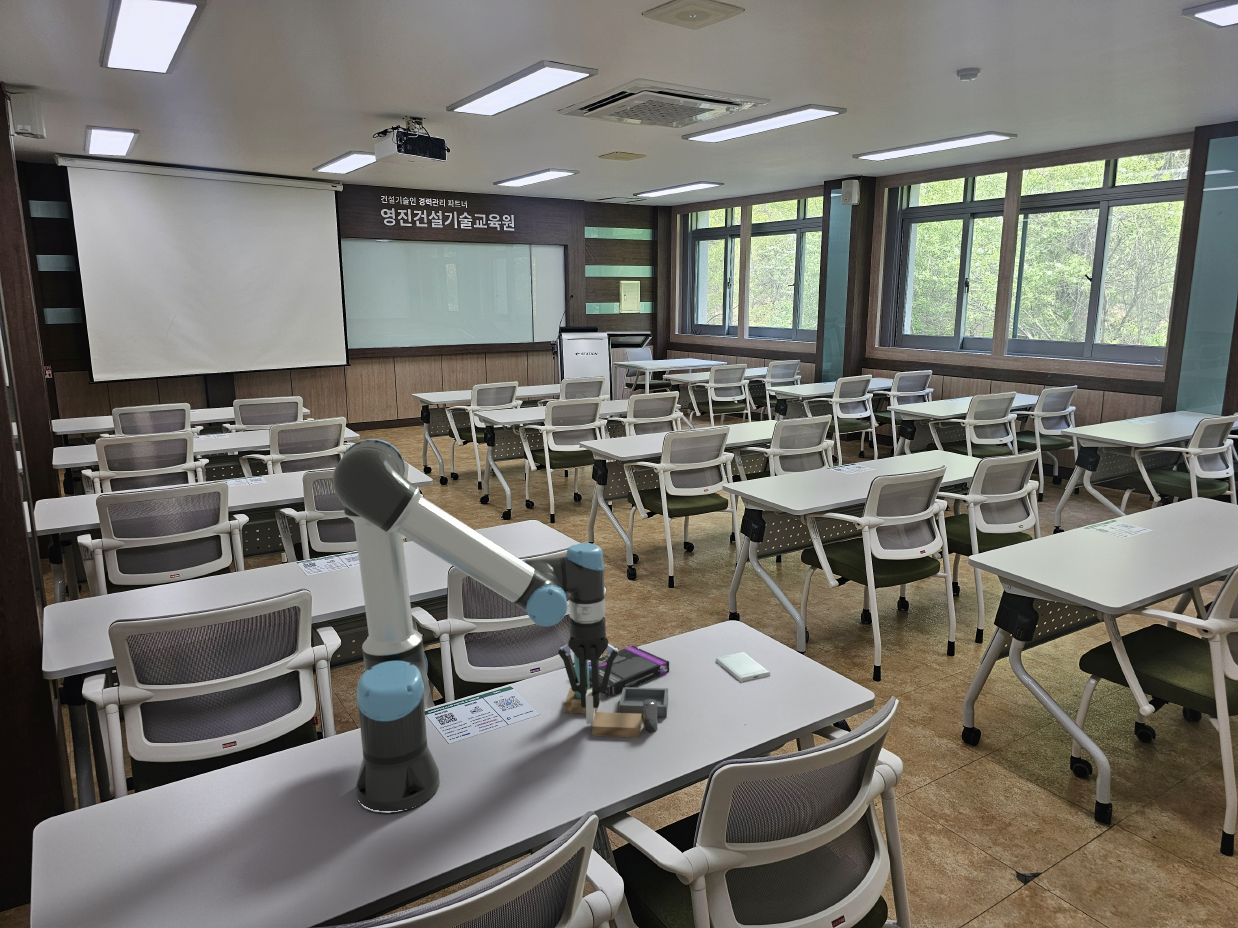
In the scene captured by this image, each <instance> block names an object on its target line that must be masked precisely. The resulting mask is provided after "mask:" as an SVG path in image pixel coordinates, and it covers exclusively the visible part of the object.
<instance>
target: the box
mask: <svg viewBox="0 0 1238 928" xmlns="http://www.w3.org/2000/svg"><path fill="white" fill-rule="evenodd" d="M638 648H639V647H637V646H635V645H631V646H628V647H627V646H626V648H623V649H619V651H618V655H617V656H616V658H615V659H614V661H613V664H612V668H611V673H610V677H609V681H608V686H607V689H606V692H604V693H603V692H601V693H600V694H603V695H605V696H607V697H609V698H611V697H613V696H615V695H618V694H620V693H621V694H622V690H623V687H633V688H636V687H638V686H639V685H642V684H644V683H647V682H649V681H650V680H654V679H656V678H659V677H660V676H664V674H667V673H669V672H670V660H667V659H664V658H662V657H660V656H657V655H655V654H652V653H650V652H648V651H647V650H643V649H641V648H639V649H638ZM607 660H608V656H607V654H606V655H604V656H600V658H599V685H600V684H602V681H603V677H604V673H605V668H606V664H607ZM588 662H589V688H592V669H591V661H588Z"/></svg>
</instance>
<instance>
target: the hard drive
mask: <svg viewBox="0 0 1238 928" xmlns="http://www.w3.org/2000/svg"><path fill="white" fill-rule="evenodd" d="M715 661H716V663H717V664H719V665H720V666H721V668H723V669H724V670H726V671H727V672H729V674H731V675H732V676H733V677H735V679H736V680H737V681H739V682H740V683H743V682H746V681H752V680H756V679H760V678H765V677H770V676H771V672H770V671H769V670H767V668H765V667H764V666H762V665H761V664H760V663H758V662H757V661H755V659H753V658H752V657H751V656H750V655H748V654H747V653H746V652H744V651H741V652H737V653H732V654H727V655H723V656H722V655H721V656H718V657H716V658H715Z"/></svg>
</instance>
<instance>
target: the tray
mask: <svg viewBox="0 0 1238 928" xmlns="http://www.w3.org/2000/svg"><path fill="white" fill-rule="evenodd" d="M647 699H653V700H656V701H657V718H667V717H668V706H669V688H667V687H665V688H661V687H623V690H622V692H621V696H620V700H619V704H618V709H619V710H618V713H637V714H642V718H643V701H645V700H647Z"/></svg>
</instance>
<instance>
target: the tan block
mask: <svg viewBox="0 0 1238 928" xmlns="http://www.w3.org/2000/svg"><path fill="white" fill-rule="evenodd" d="M642 718H643V717H642V714H637V713H619V712H607V711H606V712H605V711H604V712H603V711H600V712H599V711H597V712H596V714H595V717H594V721H593V724H591V735H592V736H594V737H595V736H596V737H597V736H598V737H621V738H623V737H624V738H625V737H626V738H640V735H641V729H642V725H643V724H642V723H643V722H642V721H643V719H642Z"/></svg>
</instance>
